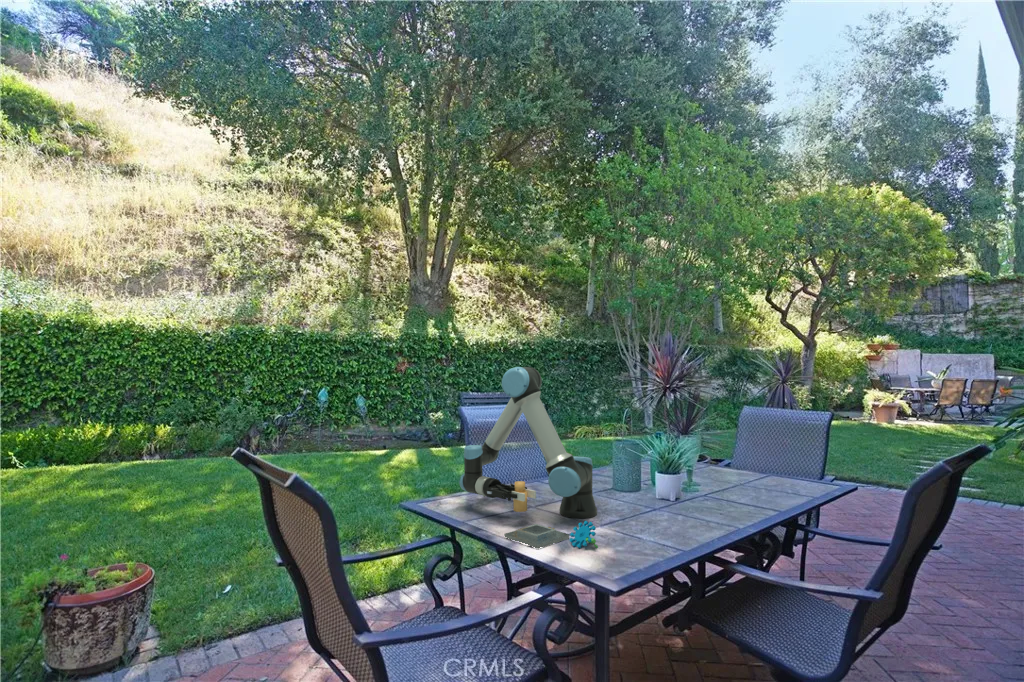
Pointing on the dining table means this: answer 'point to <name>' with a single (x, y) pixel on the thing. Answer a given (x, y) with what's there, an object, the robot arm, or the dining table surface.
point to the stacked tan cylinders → (517, 504)
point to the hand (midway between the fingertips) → (529, 496)
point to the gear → (583, 535)
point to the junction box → (537, 535)
